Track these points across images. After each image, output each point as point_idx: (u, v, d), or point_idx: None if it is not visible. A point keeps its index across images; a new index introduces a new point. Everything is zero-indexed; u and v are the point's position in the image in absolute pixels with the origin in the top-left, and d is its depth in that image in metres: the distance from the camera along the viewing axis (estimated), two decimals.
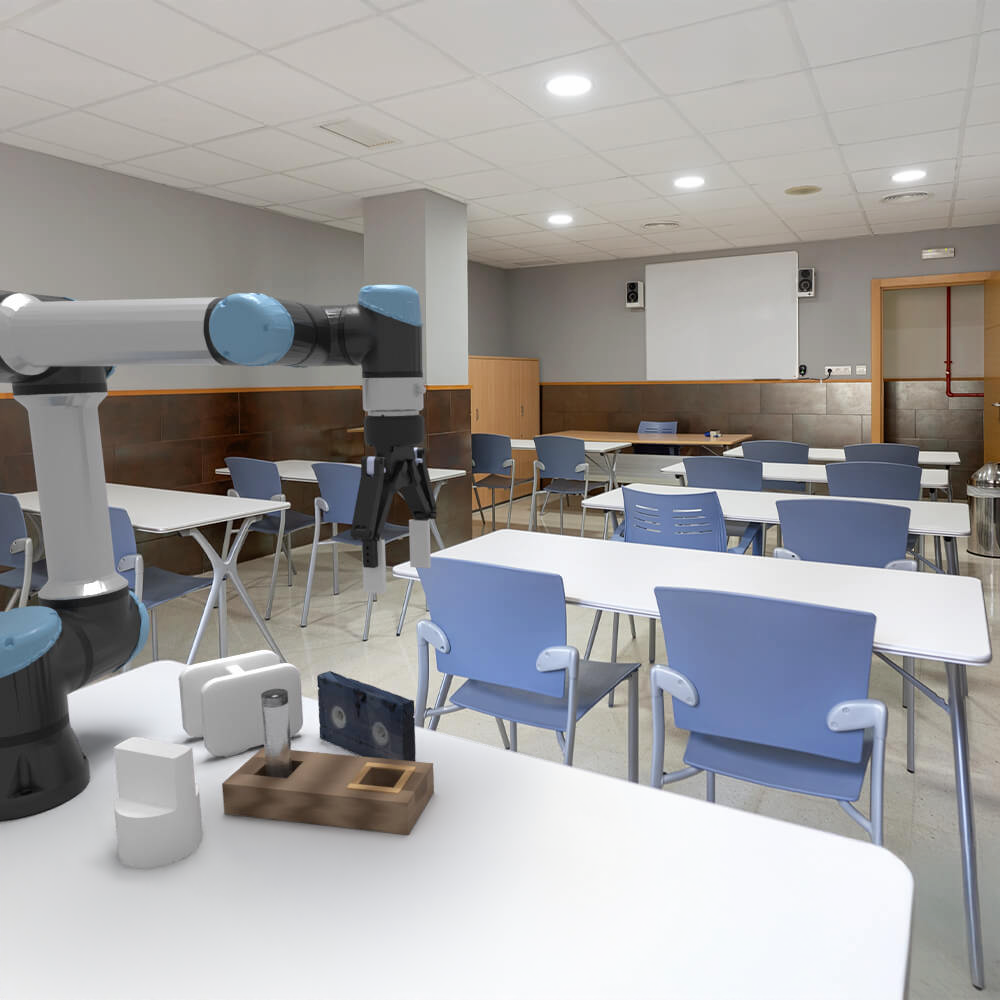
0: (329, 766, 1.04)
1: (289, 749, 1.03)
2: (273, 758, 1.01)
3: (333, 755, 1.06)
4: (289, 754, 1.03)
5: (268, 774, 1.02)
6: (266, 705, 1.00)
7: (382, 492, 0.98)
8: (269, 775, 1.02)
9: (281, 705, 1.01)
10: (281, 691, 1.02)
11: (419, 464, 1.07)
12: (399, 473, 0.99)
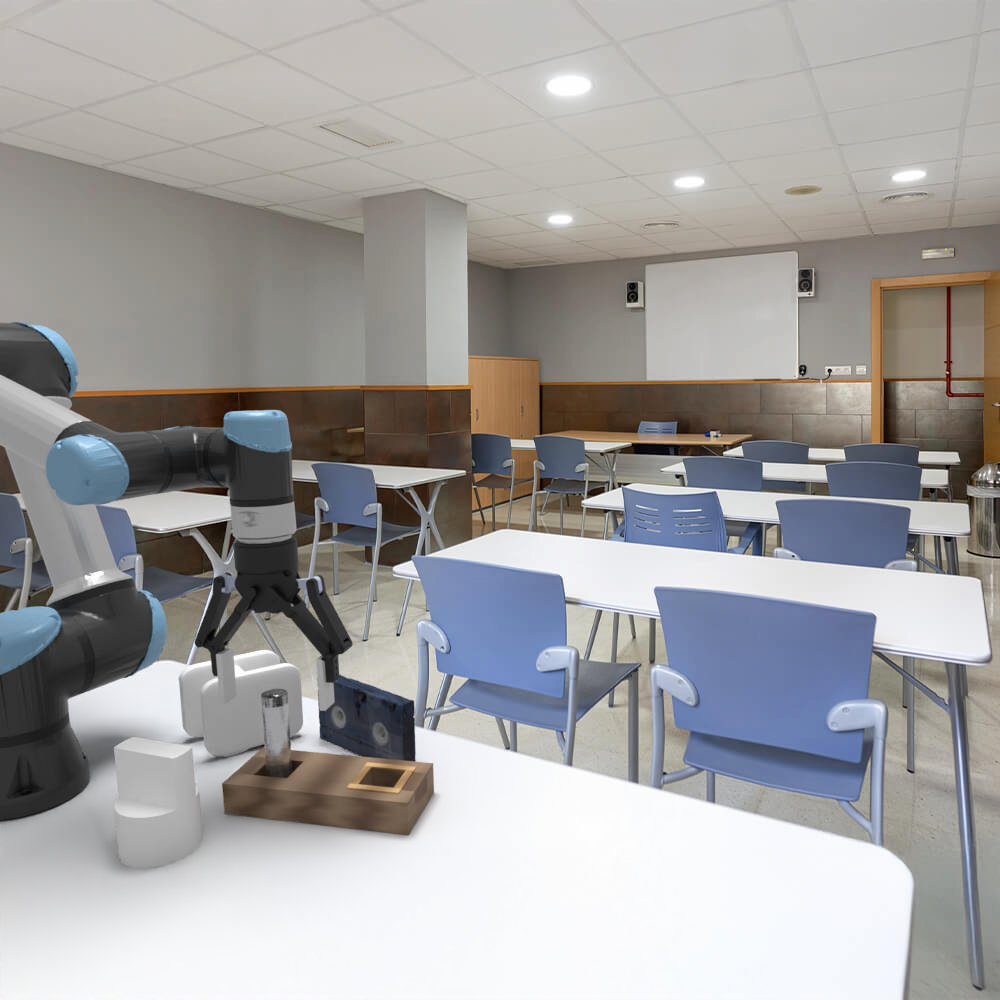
0: (329, 766, 1.04)
1: (289, 749, 1.03)
2: (273, 758, 1.01)
3: (333, 755, 1.06)
4: (289, 754, 1.03)
5: (268, 774, 1.02)
6: (266, 705, 1.00)
7: None
8: (269, 775, 1.02)
9: (281, 705, 1.01)
10: (281, 691, 1.02)
11: None
12: (243, 597, 0.99)
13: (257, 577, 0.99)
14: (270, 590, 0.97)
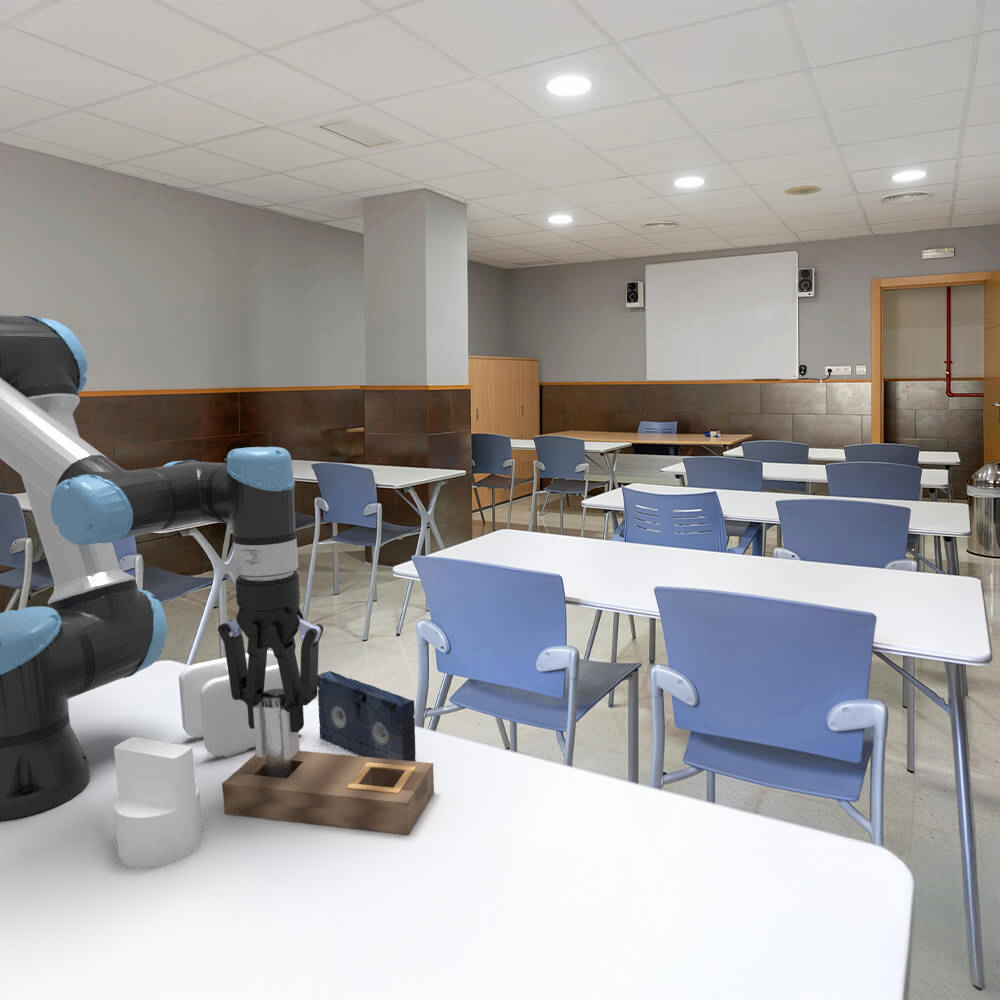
0: (329, 766, 1.04)
1: None
2: (273, 758, 1.01)
3: (333, 755, 1.06)
4: None
5: (268, 774, 1.02)
6: (266, 705, 1.00)
7: None
8: (269, 775, 1.02)
9: (281, 705, 1.01)
10: (281, 691, 1.02)
11: None
12: (249, 637, 0.99)
13: (259, 613, 0.99)
14: (273, 627, 0.98)
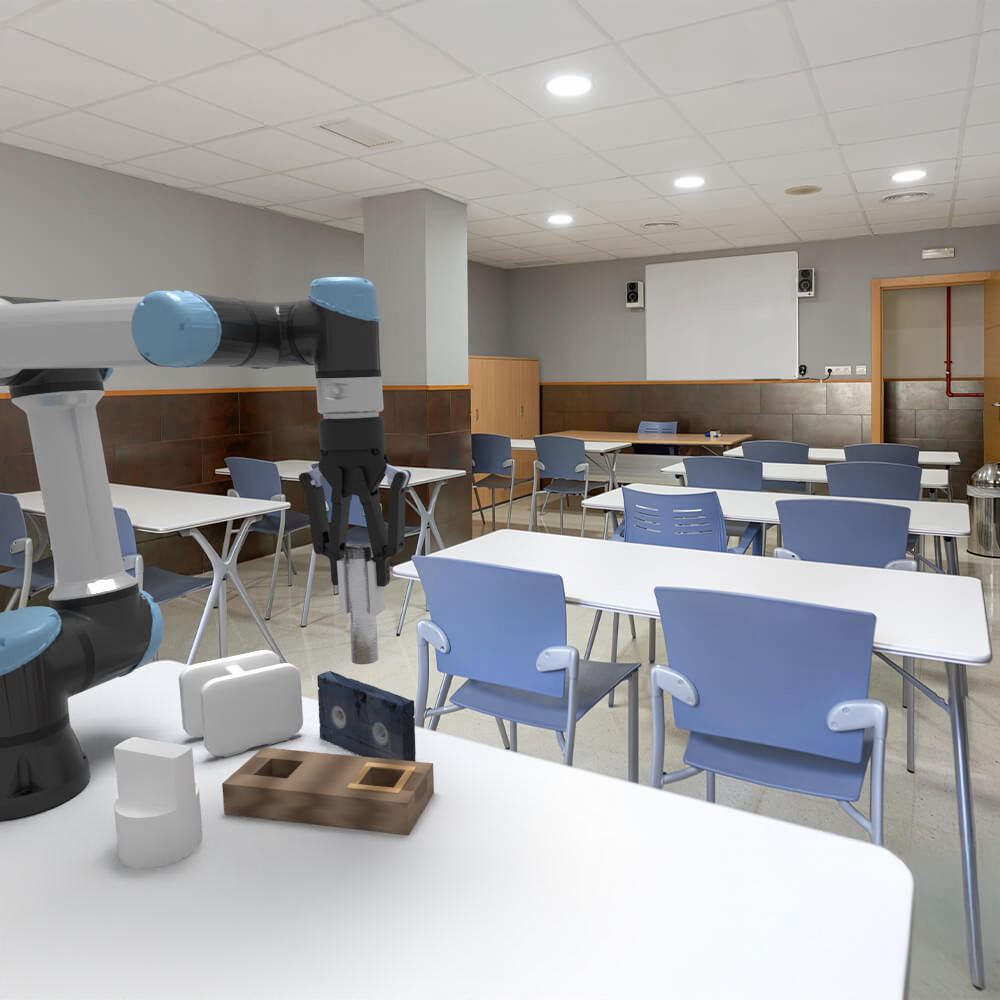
0: (329, 766, 1.04)
1: None
2: (358, 614, 0.96)
3: (333, 755, 1.06)
4: None
5: (353, 633, 0.96)
6: (351, 557, 0.95)
7: None
8: (354, 633, 0.96)
9: (366, 557, 0.95)
10: (365, 545, 0.97)
11: None
12: (333, 483, 0.94)
13: (343, 457, 0.94)
14: (359, 470, 0.93)
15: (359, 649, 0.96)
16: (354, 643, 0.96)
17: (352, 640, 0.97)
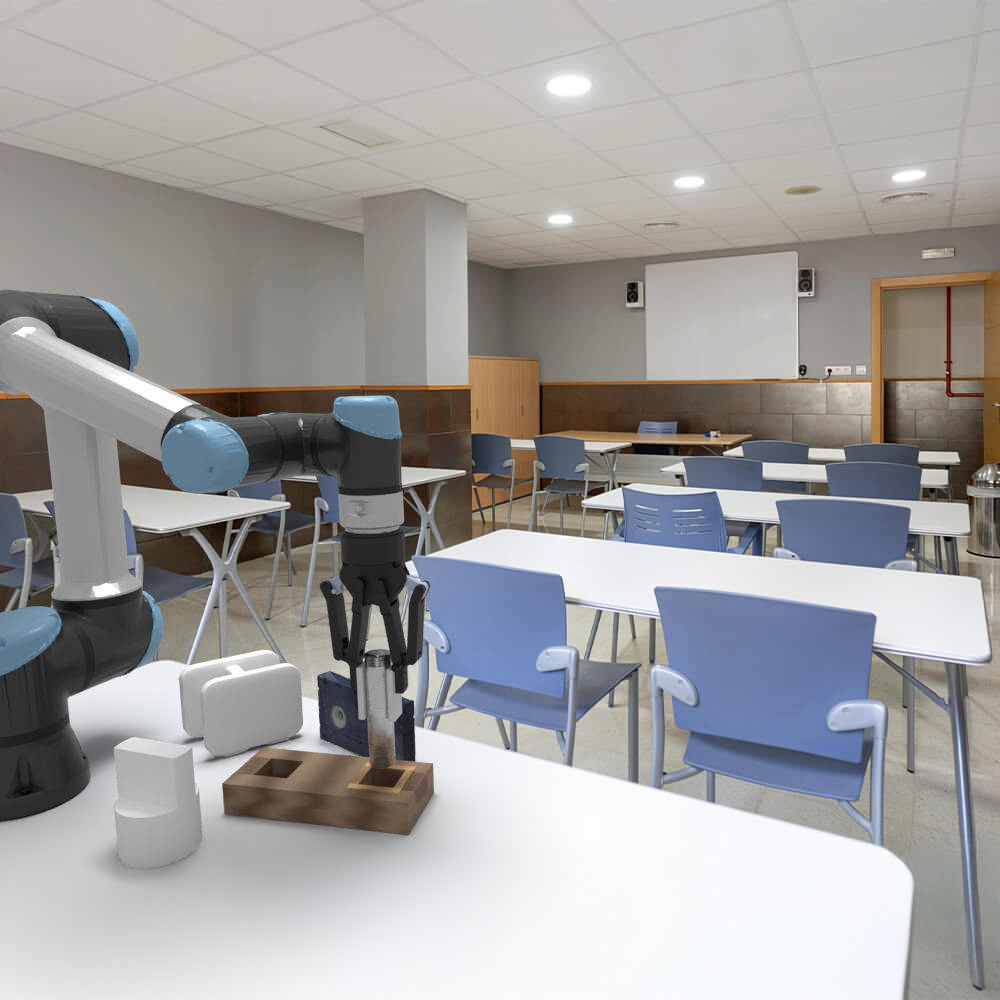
0: (329, 766, 1.04)
1: None
2: (377, 720, 0.97)
3: (333, 755, 1.06)
4: None
5: (371, 737, 0.98)
6: (370, 665, 0.96)
7: None
8: (372, 738, 0.98)
9: (386, 665, 0.97)
10: (384, 651, 0.98)
11: None
12: (354, 594, 0.95)
13: (364, 568, 0.95)
14: (380, 583, 0.94)
15: (377, 754, 0.98)
16: (372, 748, 0.98)
17: (370, 744, 0.98)
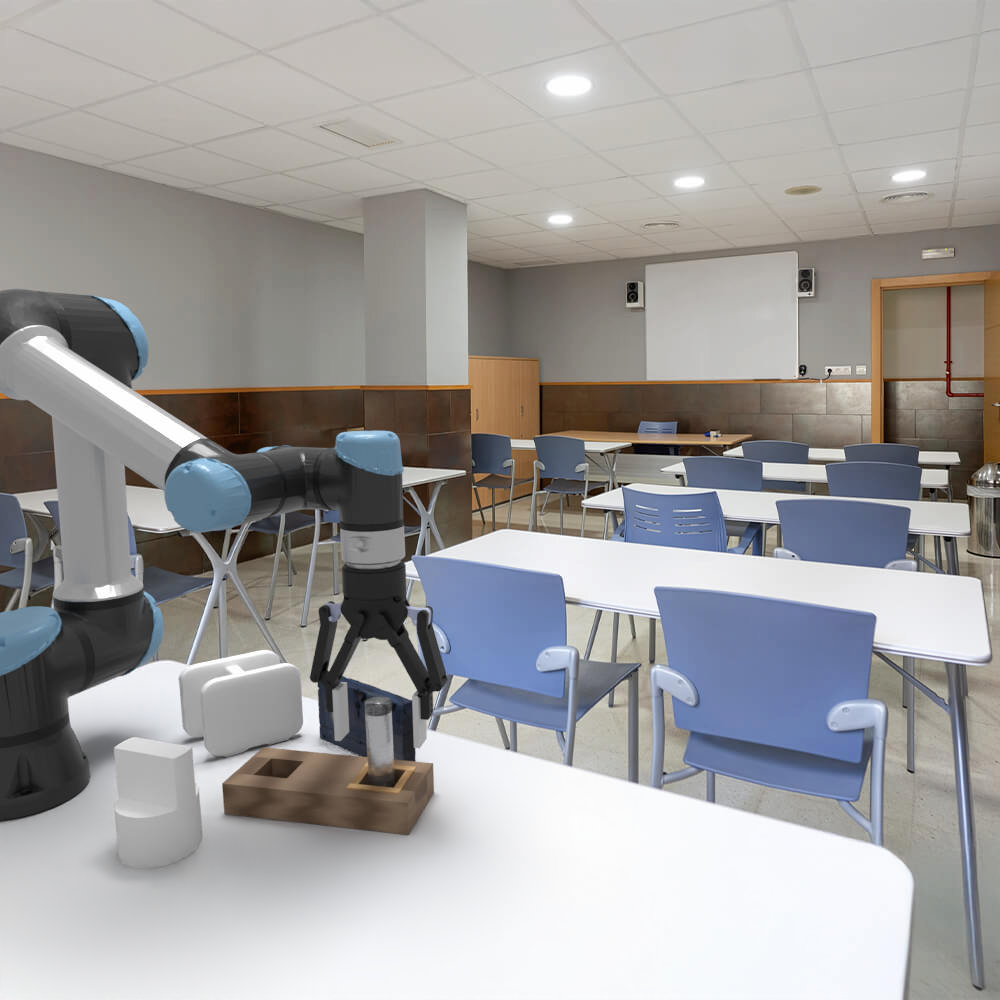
0: (329, 766, 1.04)
1: (393, 759, 0.99)
2: (377, 768, 0.98)
3: (333, 755, 1.06)
4: (393, 764, 1.00)
5: (372, 785, 0.99)
6: (370, 714, 0.97)
7: None
8: None
9: (386, 713, 0.98)
10: (384, 699, 0.99)
11: None
12: (352, 625, 0.96)
13: (365, 602, 0.96)
14: (380, 616, 0.95)
15: None
16: None
17: None
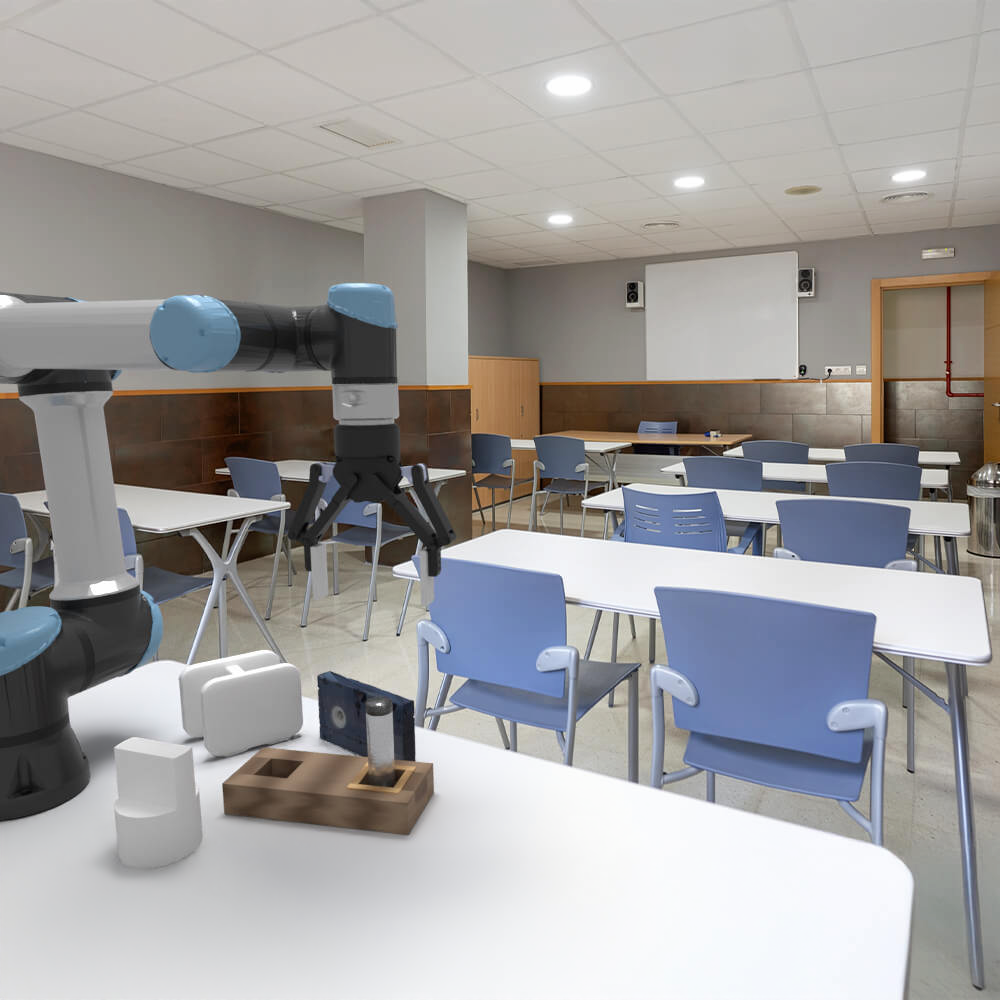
0: (329, 766, 1.04)
1: (393, 759, 0.99)
2: (377, 768, 0.98)
3: (333, 755, 1.06)
4: (393, 764, 1.00)
5: (372, 785, 0.99)
6: (371, 714, 0.97)
7: None
8: None
9: (387, 714, 0.98)
10: (385, 699, 0.99)
11: None
12: (343, 485, 0.94)
13: (358, 464, 0.93)
14: (373, 476, 0.92)
15: None
16: None
17: None
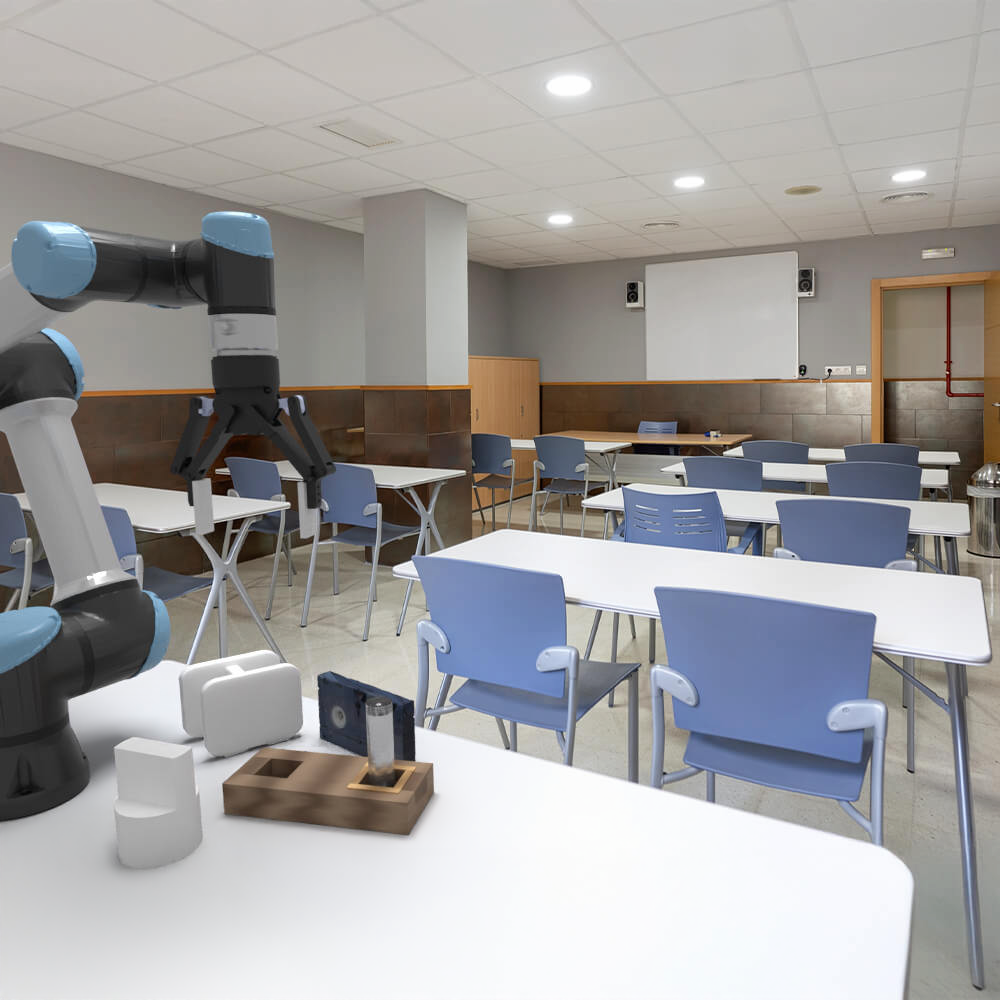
0: (329, 766, 1.04)
1: (393, 759, 0.99)
2: (377, 768, 0.98)
3: (333, 755, 1.06)
4: (393, 764, 1.00)
5: (372, 785, 0.99)
6: (371, 714, 0.97)
7: None
8: None
9: (387, 714, 0.98)
10: (385, 699, 0.99)
11: None
12: (221, 417, 0.94)
13: (236, 396, 0.93)
14: (249, 408, 0.92)
15: None
16: None
17: None
